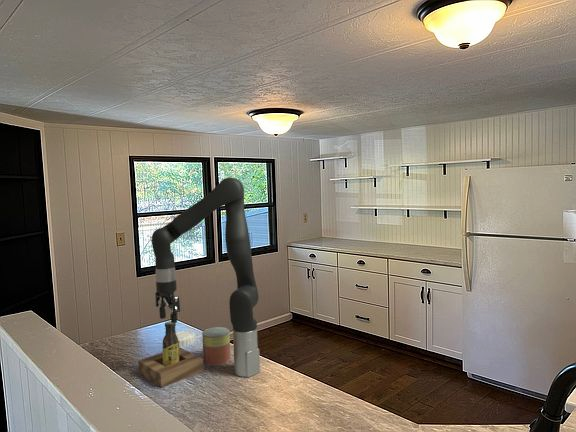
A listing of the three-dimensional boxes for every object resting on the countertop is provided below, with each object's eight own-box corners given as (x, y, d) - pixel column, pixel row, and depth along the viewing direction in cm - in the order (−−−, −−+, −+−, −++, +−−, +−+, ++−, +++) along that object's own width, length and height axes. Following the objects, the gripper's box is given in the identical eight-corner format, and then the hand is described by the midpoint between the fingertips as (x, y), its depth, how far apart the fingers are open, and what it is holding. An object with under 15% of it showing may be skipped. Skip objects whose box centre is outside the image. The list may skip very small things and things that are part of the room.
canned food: (233, 354, 183) (232, 327, 182) (227, 365, 172) (225, 336, 171) (207, 354, 184) (206, 326, 183) (199, 365, 173) (198, 336, 172)
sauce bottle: (170, 377, 163) (167, 326, 161) (159, 373, 167) (157, 323, 165) (183, 371, 168) (181, 321, 166) (173, 367, 172) (171, 319, 170)
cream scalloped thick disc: (200, 340, 201) (200, 332, 201) (181, 349, 191) (181, 341, 191) (182, 335, 208) (182, 328, 207) (163, 344, 197) (162, 336, 197)
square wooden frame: (203, 371, 167) (203, 358, 167) (161, 387, 155) (160, 374, 154) (179, 358, 180) (178, 346, 180) (138, 372, 168) (137, 360, 167)
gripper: (184, 280, 162) (186, 321, 163) (165, 275, 172) (167, 314, 173) (166, 283, 157) (169, 327, 158) (148, 278, 167) (150, 319, 168)
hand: (168, 320), depth 166 cm, fingers open, 8 cm apart
